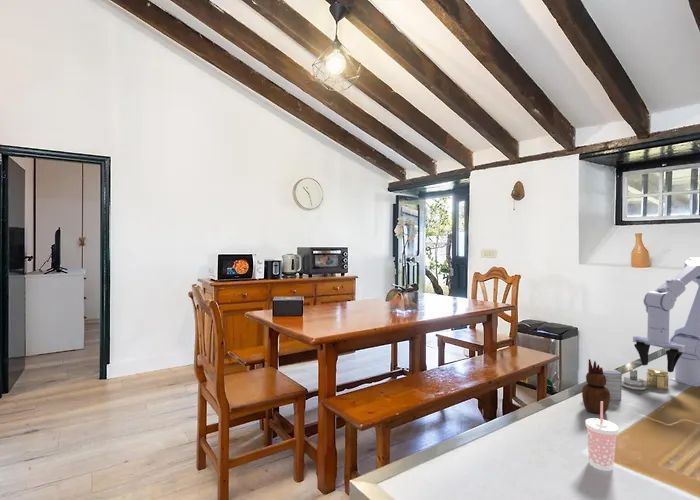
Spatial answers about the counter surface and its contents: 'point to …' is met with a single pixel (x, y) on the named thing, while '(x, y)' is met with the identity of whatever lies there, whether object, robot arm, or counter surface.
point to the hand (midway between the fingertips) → (657, 368)
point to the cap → (657, 378)
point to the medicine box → (613, 383)
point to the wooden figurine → (595, 390)
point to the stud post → (633, 382)
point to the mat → (649, 389)
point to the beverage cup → (601, 442)
